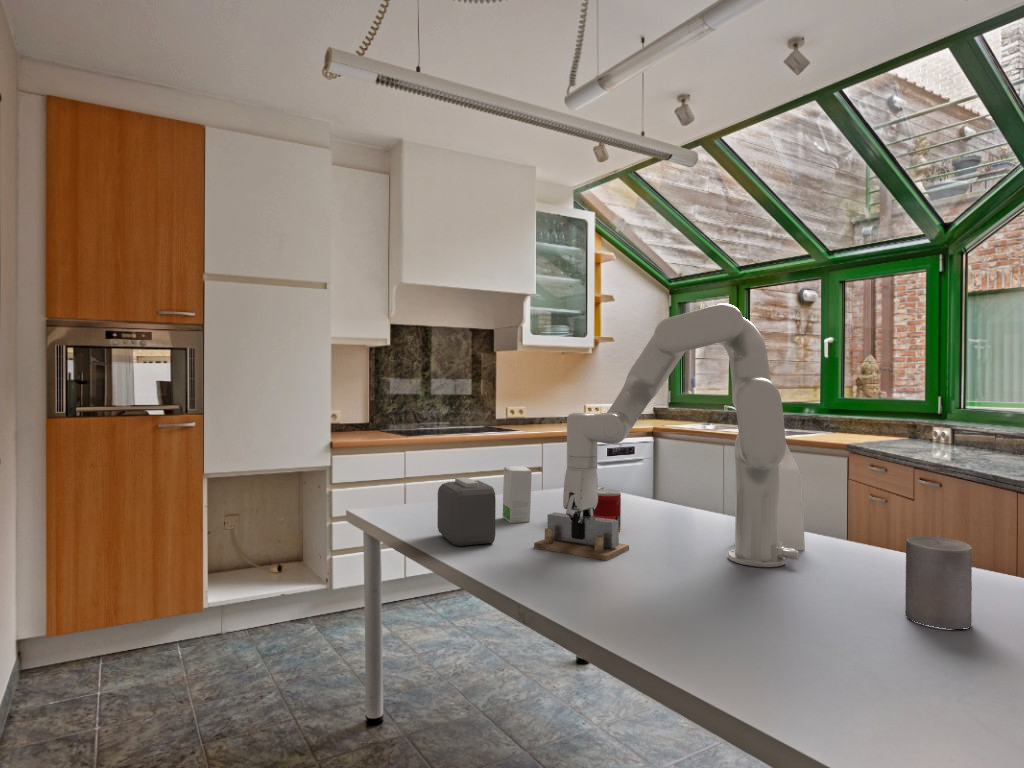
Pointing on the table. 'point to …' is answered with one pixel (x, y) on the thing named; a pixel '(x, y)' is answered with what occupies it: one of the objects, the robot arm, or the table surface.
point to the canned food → (608, 505)
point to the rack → (580, 547)
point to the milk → (790, 504)
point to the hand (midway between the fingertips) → (581, 536)
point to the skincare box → (517, 494)
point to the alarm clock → (466, 512)
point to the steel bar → (585, 529)
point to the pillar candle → (938, 582)
